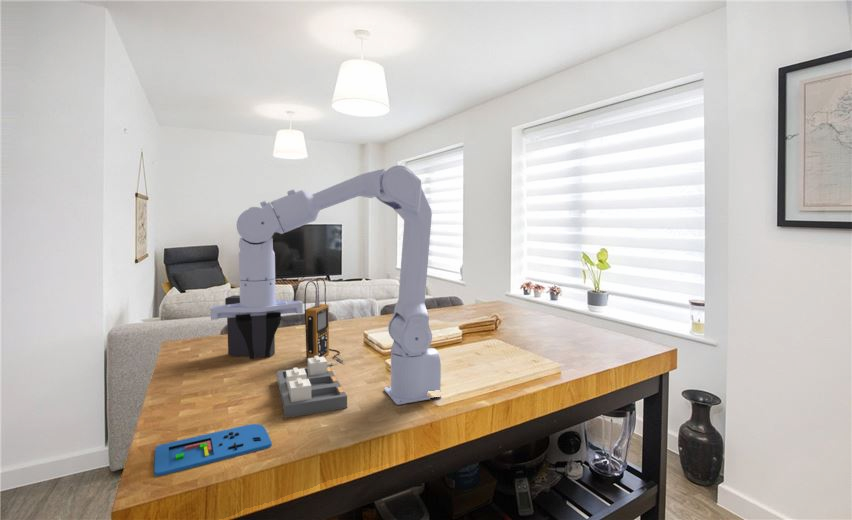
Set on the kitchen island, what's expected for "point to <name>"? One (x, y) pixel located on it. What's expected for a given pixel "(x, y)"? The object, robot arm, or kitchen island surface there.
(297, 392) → the tab
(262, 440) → the handheld gaming device
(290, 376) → the tab
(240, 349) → the dark gray lidded box
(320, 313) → the multimeter
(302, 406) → the switch bank
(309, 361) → the tab
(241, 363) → the kitchen island surface
